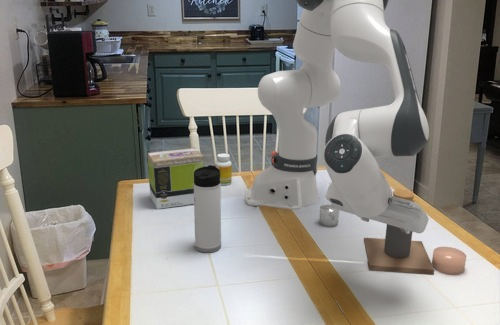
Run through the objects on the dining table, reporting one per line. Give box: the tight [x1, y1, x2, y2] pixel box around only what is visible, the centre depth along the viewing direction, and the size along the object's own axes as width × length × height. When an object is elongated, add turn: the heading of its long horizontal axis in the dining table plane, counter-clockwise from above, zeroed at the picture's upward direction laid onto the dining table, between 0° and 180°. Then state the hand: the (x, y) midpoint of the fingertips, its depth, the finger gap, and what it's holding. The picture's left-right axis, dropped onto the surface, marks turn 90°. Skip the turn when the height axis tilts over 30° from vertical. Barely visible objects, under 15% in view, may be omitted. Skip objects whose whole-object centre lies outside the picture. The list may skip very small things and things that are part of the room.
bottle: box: [384, 189, 415, 258], centre depth 118 cm, size 6×6×15 cm
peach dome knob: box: [431, 246, 467, 276], centre depth 116 cm, size 7×7×4 cm
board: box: [363, 237, 435, 275], centre depth 120 cm, size 14×14×1 cm
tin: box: [318, 204, 340, 228], centre depth 136 cm, size 5×5×5 cm
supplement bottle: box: [214, 153, 233, 186], centre depth 166 cm, size 5×5×10 cm
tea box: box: [147, 147, 206, 210], centre depth 150 cm, size 15×10×15 cm, turn 111°
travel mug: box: [193, 164, 222, 254], centre depth 121 cm, size 6×7×20 cm
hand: (386, 224), depth 111 cm, fingers open, 8 cm apart
